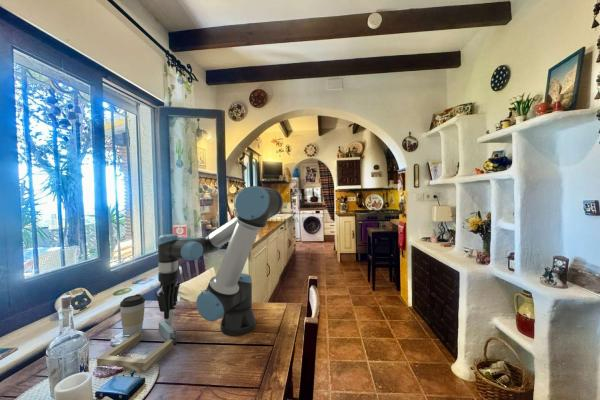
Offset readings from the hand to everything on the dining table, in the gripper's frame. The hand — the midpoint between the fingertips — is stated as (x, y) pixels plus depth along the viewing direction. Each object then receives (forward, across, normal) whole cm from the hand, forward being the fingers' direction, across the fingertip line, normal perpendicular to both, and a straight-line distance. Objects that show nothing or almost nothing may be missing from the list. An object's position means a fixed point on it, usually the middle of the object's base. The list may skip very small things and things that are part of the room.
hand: (168, 325), depth 108 cm
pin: (+2, +9, +10) cm, 13 cm away
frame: (+2, +17, +2) cm, 17 cm away
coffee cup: (+3, +4, -14) cm, 15 cm away
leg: (+2, +5, +3) cm, 6 cm away
